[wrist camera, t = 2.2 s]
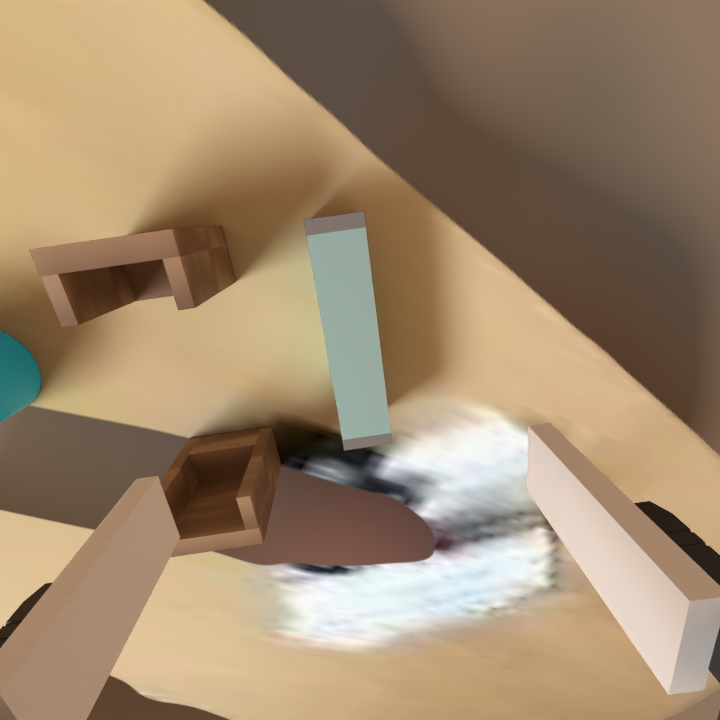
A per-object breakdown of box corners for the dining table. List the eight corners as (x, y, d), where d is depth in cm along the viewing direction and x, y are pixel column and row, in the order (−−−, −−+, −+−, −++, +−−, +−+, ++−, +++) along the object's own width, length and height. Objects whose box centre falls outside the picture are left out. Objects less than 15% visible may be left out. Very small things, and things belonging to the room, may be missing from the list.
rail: (309, 219, 31) (303, 220, 25) (358, 212, 31) (363, 211, 25) (343, 415, 37) (344, 450, 32) (383, 409, 37) (392, 443, 32)
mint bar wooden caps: (122, 239, 31) (28, 249, 21) (222, 225, 31) (171, 228, 21) (202, 476, 39) (159, 558, 29) (281, 464, 39) (263, 543, 29)
